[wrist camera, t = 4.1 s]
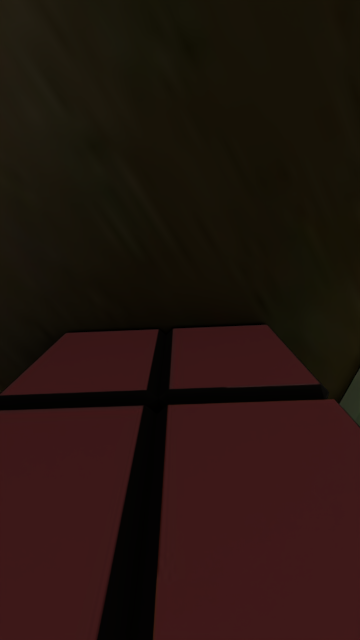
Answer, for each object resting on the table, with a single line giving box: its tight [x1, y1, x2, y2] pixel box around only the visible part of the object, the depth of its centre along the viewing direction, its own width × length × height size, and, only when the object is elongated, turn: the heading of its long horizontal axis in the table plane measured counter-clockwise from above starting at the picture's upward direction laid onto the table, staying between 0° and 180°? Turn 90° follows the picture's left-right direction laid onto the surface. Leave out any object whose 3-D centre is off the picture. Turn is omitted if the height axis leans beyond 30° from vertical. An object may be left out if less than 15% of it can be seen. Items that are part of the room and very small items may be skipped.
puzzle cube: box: [0, 325, 360, 640], centre depth 8 cm, size 10×10×10 cm
